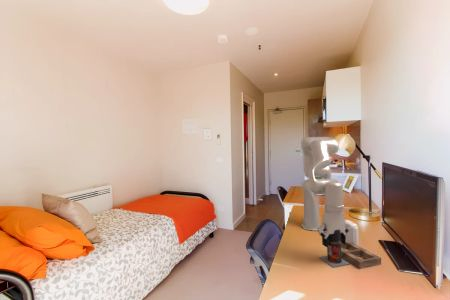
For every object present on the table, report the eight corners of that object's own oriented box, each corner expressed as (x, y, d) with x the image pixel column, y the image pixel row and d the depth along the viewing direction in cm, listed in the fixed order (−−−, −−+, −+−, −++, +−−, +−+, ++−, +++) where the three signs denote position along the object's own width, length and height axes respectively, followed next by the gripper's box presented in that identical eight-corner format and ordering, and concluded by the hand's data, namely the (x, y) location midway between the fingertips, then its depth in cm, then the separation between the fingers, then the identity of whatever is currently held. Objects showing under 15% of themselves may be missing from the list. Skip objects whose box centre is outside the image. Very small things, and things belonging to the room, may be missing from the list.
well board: (330, 250, 114) (330, 244, 114) (349, 246, 118) (349, 241, 117) (359, 268, 97) (359, 262, 97) (381, 264, 100) (381, 257, 100)
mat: (319, 257, 107) (319, 257, 107) (335, 255, 109) (335, 254, 109) (333, 267, 98) (333, 266, 98) (349, 264, 100) (349, 263, 100)
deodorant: (343, 259, 104) (342, 227, 104) (339, 264, 99) (337, 231, 99) (330, 255, 108) (329, 225, 108) (325, 260, 104) (324, 228, 104)
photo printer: (339, 239, 126) (339, 218, 126) (345, 238, 127) (345, 217, 127) (353, 247, 116) (353, 224, 116) (360, 246, 117) (360, 223, 117)
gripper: (342, 204, 109) (343, 238, 109) (312, 207, 104) (312, 243, 105) (355, 208, 102) (355, 245, 102) (323, 212, 97) (323, 250, 98)
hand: (333, 244), depth 104 cm, fingers open, 9 cm apart
